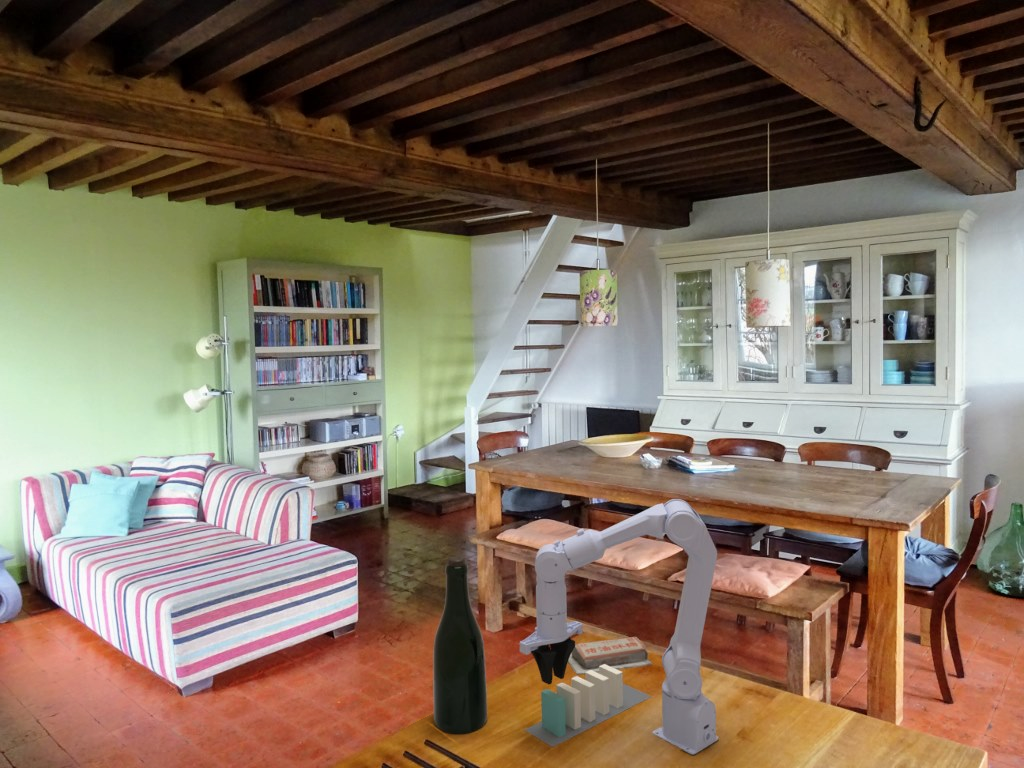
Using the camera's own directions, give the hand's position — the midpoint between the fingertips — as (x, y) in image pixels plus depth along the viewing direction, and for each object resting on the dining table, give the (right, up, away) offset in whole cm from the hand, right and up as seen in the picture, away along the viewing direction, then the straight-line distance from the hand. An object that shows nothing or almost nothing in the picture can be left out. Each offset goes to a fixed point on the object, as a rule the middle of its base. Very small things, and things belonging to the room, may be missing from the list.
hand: (552, 679), depth 141 cm
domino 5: (+12, -9, +11) cm, 19 cm away
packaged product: (+14, -9, +30) cm, 35 cm away
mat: (+8, -10, +7) cm, 14 cm away
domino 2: (+3, -10, +3) cm, 11 cm away
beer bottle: (-18, -11, +5) cm, 21 cm away
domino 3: (+6, -10, +6) cm, 13 cm away
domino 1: (0, -10, +1) cm, 10 cm away
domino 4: (+9, -9, +8) cm, 16 cm away
